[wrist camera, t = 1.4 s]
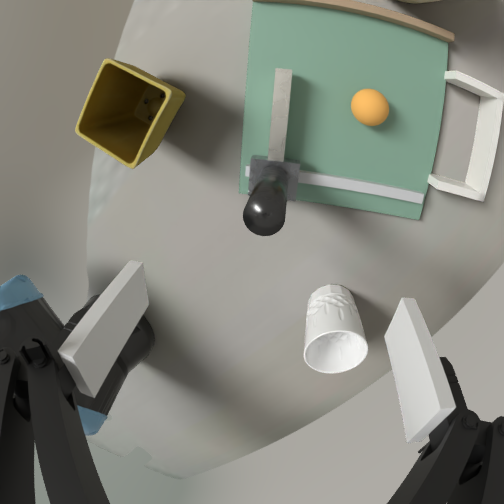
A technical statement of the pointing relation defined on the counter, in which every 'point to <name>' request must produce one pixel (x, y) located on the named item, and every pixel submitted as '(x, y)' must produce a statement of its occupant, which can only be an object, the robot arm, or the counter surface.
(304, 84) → the pitch
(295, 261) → the counter surface
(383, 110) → the ball
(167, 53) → the counter surface
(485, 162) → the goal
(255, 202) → the black lever handle
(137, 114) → the flower pot
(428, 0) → the jug
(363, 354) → the white cup
